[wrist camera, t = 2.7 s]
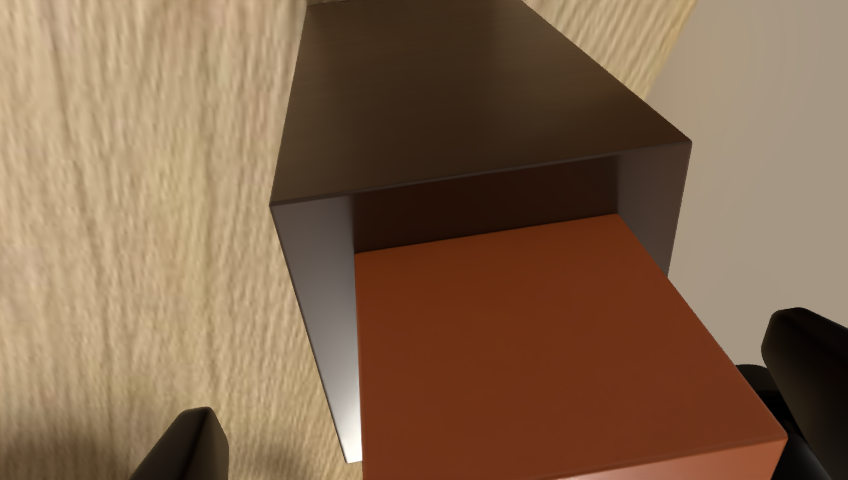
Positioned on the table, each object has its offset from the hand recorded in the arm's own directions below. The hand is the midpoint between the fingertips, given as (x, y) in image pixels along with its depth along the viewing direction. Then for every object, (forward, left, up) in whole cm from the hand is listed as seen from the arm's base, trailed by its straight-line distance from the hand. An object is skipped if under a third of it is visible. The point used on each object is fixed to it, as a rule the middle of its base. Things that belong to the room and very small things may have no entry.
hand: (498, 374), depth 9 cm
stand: (0, 0, -13) cm, 13 cm away
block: (0, 0, -1) cm, 1 cm away
